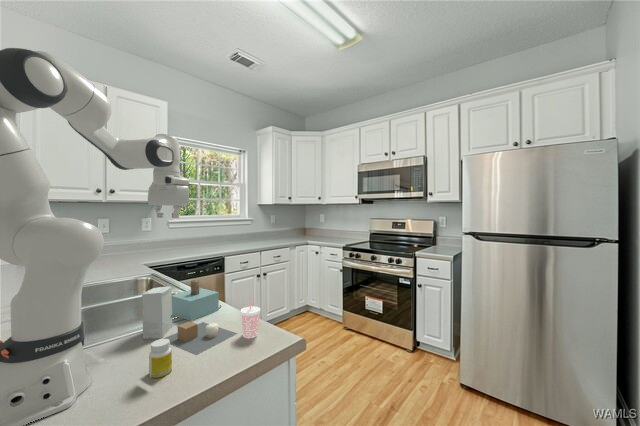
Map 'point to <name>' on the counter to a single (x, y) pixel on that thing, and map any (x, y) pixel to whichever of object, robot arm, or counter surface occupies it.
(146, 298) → the skincare box
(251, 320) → the beverage cup
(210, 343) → the mat
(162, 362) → the supplement bottle
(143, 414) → the counter surface
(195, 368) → the counter surface
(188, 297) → the cover
